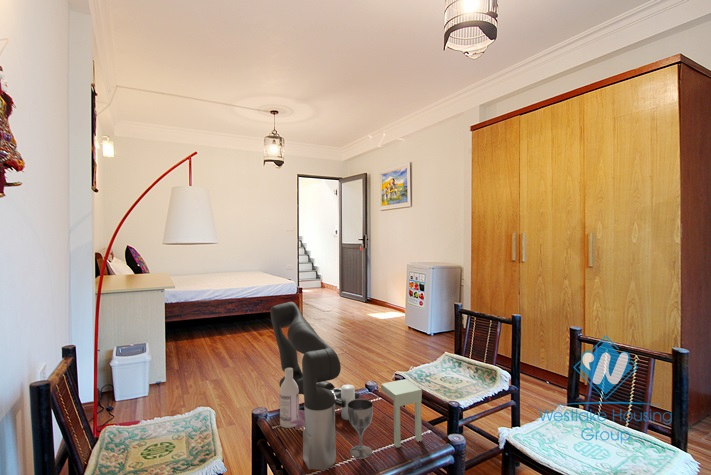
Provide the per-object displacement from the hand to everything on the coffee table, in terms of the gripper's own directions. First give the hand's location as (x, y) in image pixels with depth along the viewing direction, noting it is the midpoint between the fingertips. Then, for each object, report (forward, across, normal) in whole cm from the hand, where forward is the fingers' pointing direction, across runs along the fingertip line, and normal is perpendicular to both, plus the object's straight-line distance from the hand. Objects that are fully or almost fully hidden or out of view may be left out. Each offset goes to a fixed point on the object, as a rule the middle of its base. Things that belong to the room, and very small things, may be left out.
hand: (352, 400), depth 136 cm
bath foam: (-16, -17, +7) cm, 24 cm away
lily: (-6, -18, +7) cm, 20 cm away
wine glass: (+15, -16, +7) cm, 23 cm away
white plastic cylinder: (-2, 0, +6) cm, 7 cm away
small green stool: (+22, -1, +6) cm, 23 cm away
